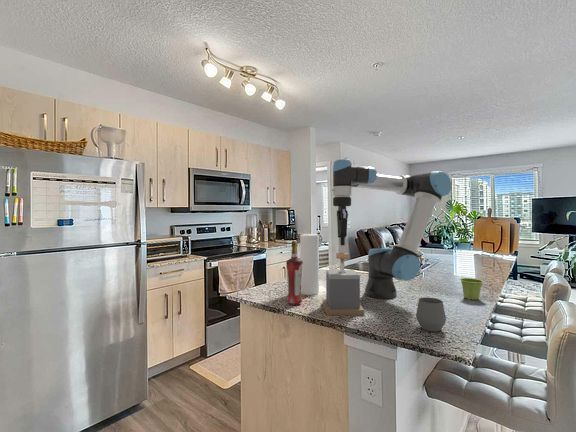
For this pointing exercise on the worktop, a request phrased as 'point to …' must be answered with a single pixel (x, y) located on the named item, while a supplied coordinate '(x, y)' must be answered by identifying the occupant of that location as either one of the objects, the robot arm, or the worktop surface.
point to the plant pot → (471, 288)
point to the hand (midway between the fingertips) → (341, 252)
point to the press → (342, 293)
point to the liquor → (294, 277)
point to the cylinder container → (310, 263)
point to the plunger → (342, 260)
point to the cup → (431, 314)
